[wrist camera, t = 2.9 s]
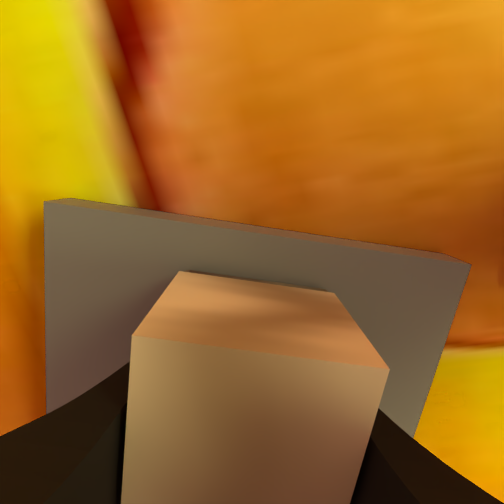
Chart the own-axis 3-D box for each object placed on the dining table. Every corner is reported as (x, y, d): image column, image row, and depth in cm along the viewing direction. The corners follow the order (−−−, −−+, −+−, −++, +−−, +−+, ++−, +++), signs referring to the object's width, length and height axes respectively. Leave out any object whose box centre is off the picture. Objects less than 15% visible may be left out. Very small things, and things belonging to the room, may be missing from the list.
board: (443, 253, 12) (472, 264, 10) (332, 610, 16) (340, 653, 15) (70, 198, 11) (43, 201, 10) (67, 586, 16) (48, 628, 14)
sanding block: (330, 287, 10) (389, 369, 6) (292, 453, 12) (316, 612, 8) (182, 266, 10) (132, 335, 6) (164, 438, 12) (114, 594, 7)
